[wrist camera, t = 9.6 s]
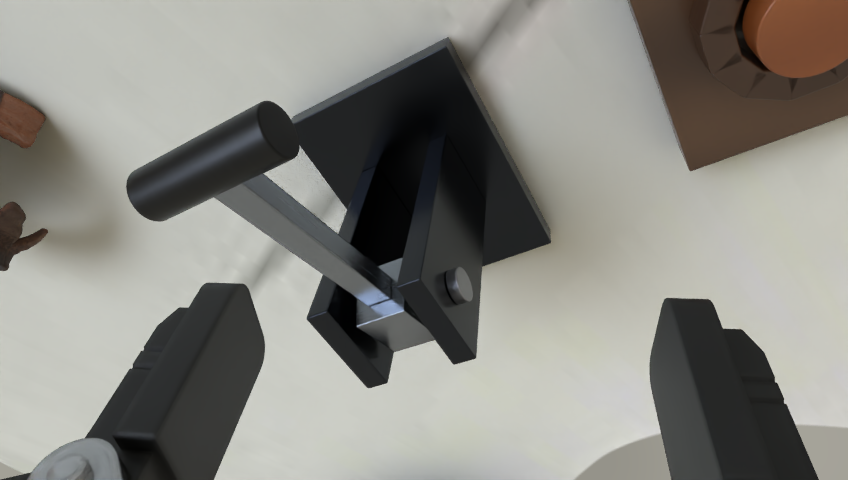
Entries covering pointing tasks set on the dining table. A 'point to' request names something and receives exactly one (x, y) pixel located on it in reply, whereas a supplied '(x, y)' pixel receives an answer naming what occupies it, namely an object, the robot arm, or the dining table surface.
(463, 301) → the bracket
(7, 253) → the brown broken pot shard
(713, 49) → the button block
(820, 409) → the dining table surface
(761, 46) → the button
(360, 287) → the lever
